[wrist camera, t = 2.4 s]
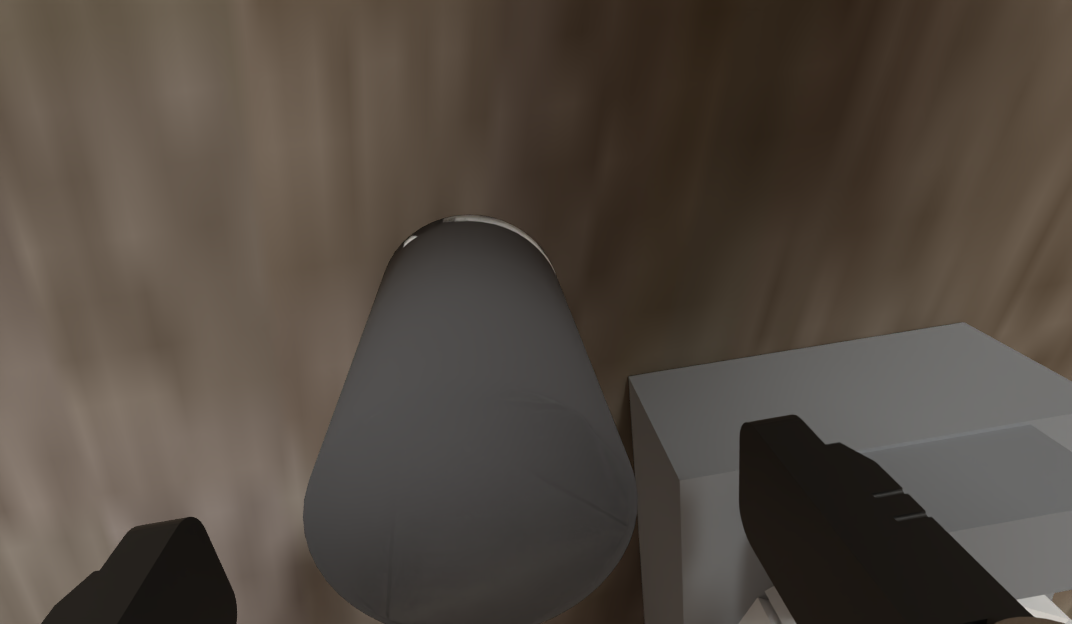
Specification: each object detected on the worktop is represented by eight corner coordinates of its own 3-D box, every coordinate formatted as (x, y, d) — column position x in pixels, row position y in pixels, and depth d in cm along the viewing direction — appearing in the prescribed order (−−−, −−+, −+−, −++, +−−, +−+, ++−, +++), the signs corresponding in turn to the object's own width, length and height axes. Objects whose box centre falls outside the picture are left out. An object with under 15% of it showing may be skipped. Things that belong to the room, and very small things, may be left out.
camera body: (607, 379, 17) (690, 574, 11) (964, 322, 17) (1242, 476, 11) (633, 695, 23) (697, 941, 16) (901, 645, 23) (1062, 866, 17)
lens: (361, 229, 15) (257, 410, 7) (548, 202, 15) (628, 351, 8) (402, 389, 16) (350, 662, 9) (566, 363, 17) (645, 608, 9)
